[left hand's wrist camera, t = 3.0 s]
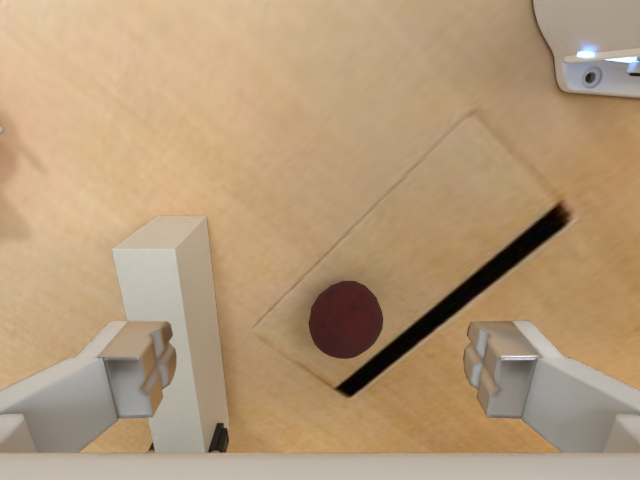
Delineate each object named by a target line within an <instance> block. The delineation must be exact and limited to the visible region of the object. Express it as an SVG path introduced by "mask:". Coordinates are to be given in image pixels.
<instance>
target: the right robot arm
mask: <svg viewBox="0 0 640 480" xmlns="http://www.w3.org/2000/svg"><path fill="white" fill-rule="evenodd" d="M228 443H229V438H228V430H227V428H224V423H217V425H216V428H215V431H214V434H213V437H212V441H211V444H210V447H209V453H226V450H227V447H228ZM146 453H155V449H154V445H153V442H152V444H151V447H150V449H149V451H148V452H146Z"/></svg>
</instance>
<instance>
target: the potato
mask: <svg viewBox="0 0 640 480" xmlns="http://www.w3.org/2000/svg"><path fill="white" fill-rule="evenodd" d="M382 325H383V316H382V311H381V308H380V306H379V303H378V301H377V299H376V297H375V296H374V294H373V293H372V292H371V291H370V290H369V289H368V288H367V287H366V286H365V285H362V284H360V283H358V282H355V281H343V282H340V283H337V284H334V285H332V286H330V287H329V288H328V289H326V290H325V291H324V292H322V293H321V294H320V295H319V296H318V298H317V299H316V301H315V303H314V304H313V306H312V308H311V314H310V320H309V328H310V333H311V336H312V339H313V341H314V343H315V345H316V346H317V347H318V348H319V349H320V350H321V351H322V352H323V353H325V354H327V355H329V356H332V357H336V358H344V359H347V358H353V357H355V356H357V355H359V354H361V353H363V352H364V351H366V350H367V349H369V348H370V347H371V346H372V345H373V344H374V343H375V341H376V340H377V338H378V336H379V334H380V332H381V330H382Z"/></svg>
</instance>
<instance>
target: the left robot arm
mask: <svg viewBox="0 0 640 480" xmlns="http://www.w3.org/2000/svg"><path fill="white" fill-rule="evenodd" d="M533 5H534V11H535V16H536V19H537V23H538V25H539V28H540V30H541V32H542V34H543V36H544V38H545V40H546V41H547V43H548V45H549V46H550V48H551V50H552V52H553V55H554V61H555V73H556V79H557V83H558V86H559V87H560V89H561V90H563V91H565V92H568V93H581V94H594V95H607V96H620V97H633V98H640V0H533ZM588 73H589V75H590V79H589V81H588V82H586V80H585V78H586V76H587V74H588ZM172 336H173V332H172V327H171V324H170V323H169V322H168V321H129V320H128V321H111V322H108V323H107V324H106V325H105V326H104V328H103V329H102V330H101V331H100V332H99V333H98V334H97V335H96V336H95V337H94V338H93V339H92V340H91V341H90V342H89V343H88V344H87V345H86V347H85V348H84V349H83V350H82V351H81V352H80V353H79V354H78V355H77V356H76V357H75V358H67V359H65V360H63V361H61V362H59V363H57V364H55V365H53V366H50V367H48V368H46V369H44V370H42V371H40V372H38V373H36V374H34V375H31V376H29V377H27V378H25V379H23V380H21V381H19V382H17V383H15V384H12V385H10V386H8V387H6V388H4V389H2V390H0V480H640V390H638V389H636V388H634V387H632V386H629V385H627V384H625V383H623V382H621V381H619V380H617V379H615V378H613V377H611V376H608V375H606V374H604V373H602V372H600V371H598V370H596V369H594V368H592V367H590V366H587V365H585V364H583V363H581V362H579V361H577V360H575V359H573V358H565V357H564V356H563V355H562V354H561V353H560V352H559V351H558V350H557V349H556V348H555V347H554V345H553V344H552V343H551V342H550V341H549V340H548V339H547V338H546V337H545V336H544V335H543V334H542V333H541V332H540V331H539V330H538V329H537V327H536V326H535V325H534V324H533V323H532V322H530V321H527V320H521V321H494V322H471V323H470V325H469V327H468V332H467V336H468V338H469V339H470V341H471V343H470V344H469V345H468V346H467V347H466V348H465V349H464V357H463V362H464V371H465V374H466V377H467V379H468V381H469V383H470V385H472V386H473V387H475V388H476V389H477V390H478V392H477V399H478V401H479V403H480V405H481V406H482V408H483V410H484V412H485V414H486V416H487V418H522V421H524V422H525V423H526V424H527V425H528V426H530V427H531V428H532V429H533V430H535V431H536V432H537V433H538V434H540V435H541V436H542V437H543V438H544V439H546V440H547V441H548V442H549V443H551V444H552V445H553V446H554V447H555V448H557V449H558V450H559V451H560V452H562V453H79V452H80V451H81V450H82V449H83V448H85V447H86V446H87V445H88V444H90V443H91V442H92V441H93V440H94V439H96V438H97V437H98V436H99V435H101V434H102V433H103V432H104V431H106V430H107V429H108V428H109V427H110V426H112V425H113V424H114V423H115V422H117V421H118V418H152V417H153V416H154V414H155V412H156V410H157V408H158V406H159V405H160V403H161V401H162V399H163V392H162V390H163V389H164V388H165V387H167V386H168V385H170V383H171V381H172V379H173V377H174V374H175V370H176V365H177V356H176V349H175V348H174V347H173V346H172V345H171V344H170V343H169V341H170V339H171V338H172Z"/></svg>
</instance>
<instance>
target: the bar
mask: <svg viewBox="0 0 640 480" xmlns="http://www.w3.org/2000/svg"><path fill="white" fill-rule="evenodd" d="M112 253H113V257H114V262H115V267H116V272H117V276H118V281H119V286H120V290H121V295H122V300H123V304H124V309H125V314H126V318H127V321H128V320H129V321H168V322H169V323H170V324H171V327H172V332H173V336H172V338H171V339H170V341H169V343H170V344H171V345H172V346H173V347H174V348H175V349H176V356H177V365H176V370H175V374H174V377H173V379H172V381H171V383H170V385H168V386H167V387H165V388H164V389H163V390H162V392H163V399H162V401H161V403H160V405H159V406H158V408H157V410H156V412H155V414H154V416H153V417H152V418H148V421H149V426H150V431H151V435H152V440H153V445H154V449H155V453H209V447H210V444H211V441H212V437H213V434H214V431H215V428H216V425H217V423H224V428H227V430H228V431H229V427H230V423H229V414H228V405H227V396H226V387H225V379H224V370H223V361H222V352H221V343H220V334H219V325H218V316H217V307H216V298H215V289H214V280H213V271H212V262H211V253H210V245H209V236H208V227H207V218H206V216H156V217H155V218H153V219H152V220H151V221H149V222H148V223H147V224H145V225H144V226H143V227H141V228H140V229H138V230H137V231H136V232H134V233H133V234H132V235H130V236H129V237H128V238H126V239H125V240H123V241H122V242H121V243H119V244H118V245H117V246H115V247H114V248H113V249H112Z"/></svg>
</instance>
